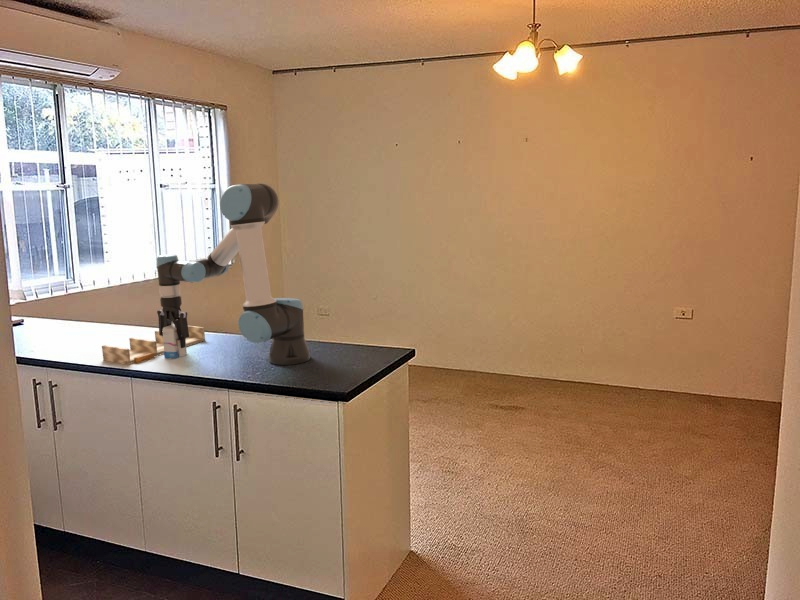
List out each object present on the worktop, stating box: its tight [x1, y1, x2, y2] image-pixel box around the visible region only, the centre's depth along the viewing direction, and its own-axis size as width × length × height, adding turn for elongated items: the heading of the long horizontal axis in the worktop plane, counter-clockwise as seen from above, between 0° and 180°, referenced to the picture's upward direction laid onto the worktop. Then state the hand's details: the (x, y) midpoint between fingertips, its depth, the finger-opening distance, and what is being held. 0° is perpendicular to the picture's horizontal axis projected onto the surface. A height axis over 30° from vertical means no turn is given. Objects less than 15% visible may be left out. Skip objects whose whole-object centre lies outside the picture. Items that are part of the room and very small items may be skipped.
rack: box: [101, 325, 206, 366], centre depth 267 cm, size 16×38×6 cm, turn 151°
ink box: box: [162, 323, 188, 360], centre depth 258 cm, size 9×5×12 cm, turn 168°
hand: (175, 354), depth 259 cm, fingers closed on ink box, 6 cm apart
